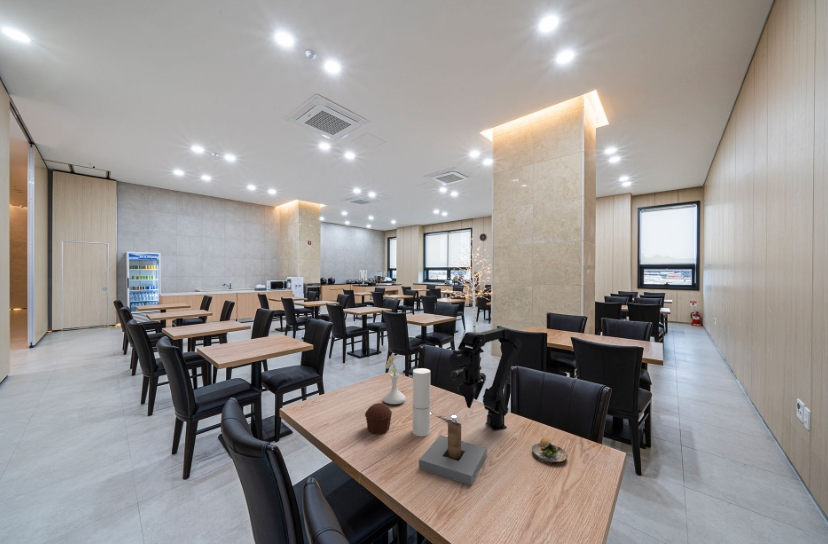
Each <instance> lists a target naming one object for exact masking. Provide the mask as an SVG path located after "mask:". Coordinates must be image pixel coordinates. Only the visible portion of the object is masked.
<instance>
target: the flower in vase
mask: <svg viewBox="0 0 828 544" xmlns="http://www.w3.org/2000/svg"><path fill="white" fill-rule="evenodd" d="M394 360H395V354H394V353H392V354H391V355H389V357H388V360H387V361H386V364H385V369H389V368H390V367H392V368H391V371H392V373H389V377H390V378H391V384H392V385H391V390H389V391H388V392H387V393H385V395H383V398H382V400H383V402H384V403H386V404H387V405H388V404H389V405H400V404H402V403H404V402H405V401H406V395H404V394H403V392H401V391H400V390H398V378H399V376H400V373H397V368H396V366H395V364H394Z"/></svg>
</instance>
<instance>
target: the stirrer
mask: <svg viewBox="0 0 828 544" xmlns="http://www.w3.org/2000/svg"><path fill="white" fill-rule="evenodd" d="M430 416H433V417H436V416H437V417H438V418H440V417H445V418H447V419H449V420H450V421H452V422H456V423H460V422H461V421H460V419H459V417H458V415H457V414H443V415H438V414H435V413H434V412H432V411H431V410H430Z"/></svg>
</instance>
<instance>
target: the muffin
mask: <svg viewBox="0 0 828 544" xmlns="http://www.w3.org/2000/svg"><path fill="white" fill-rule="evenodd" d="M392 414H393V411H392V410H391V409H390V408H389V407H388V405H386V404H384V403H381V402H379V403H374V404H372V405H371V406H369V407H368V408H367V410H366V411H365V413H364V416H365V420H366V426H367V430H368V431H367V432H368V433H369V434H371V435H378V436H380V435H383V434H387V432H388V431H389V430H390V426H391V420H392Z"/></svg>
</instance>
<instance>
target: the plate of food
mask: <svg viewBox="0 0 828 544" xmlns="http://www.w3.org/2000/svg"><path fill="white" fill-rule="evenodd" d="M541 435H542V436H541V437H542V438H541V439H540V441H539V443H536V444H534V445H532V447H531V450H532V451H531V455H532V457H533V458H534V459H536V460H538V461H539V462H542V463H544V464H546V465H548V466H552V465H553V463H560V462H563V461H565V460H567V458H568V454H567V451H565V450H564V449H563V448H562V447H560V446H556V445H555V444H553V443H552V442H551V439H550V438H548V437H544V436H543V434H542V433H541Z"/></svg>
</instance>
